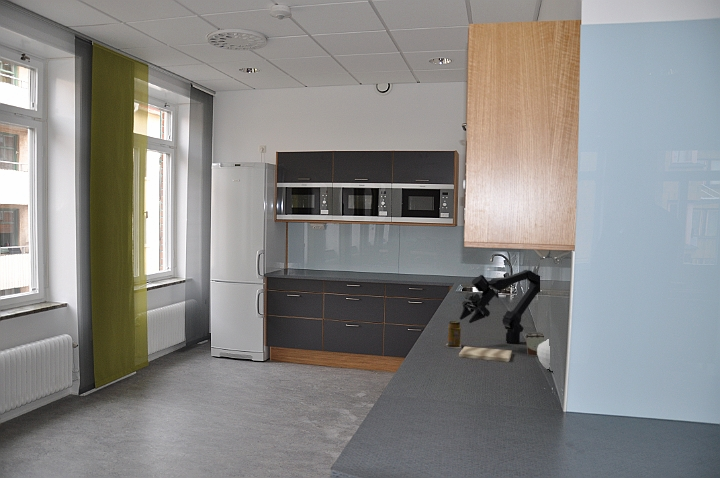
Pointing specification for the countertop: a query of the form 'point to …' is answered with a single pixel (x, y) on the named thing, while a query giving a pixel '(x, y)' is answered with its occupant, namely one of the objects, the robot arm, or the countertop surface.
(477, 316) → the robot arm
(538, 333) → the food container
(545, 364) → the vase
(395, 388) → the countertop surface
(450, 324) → the condiment
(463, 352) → the birch board
